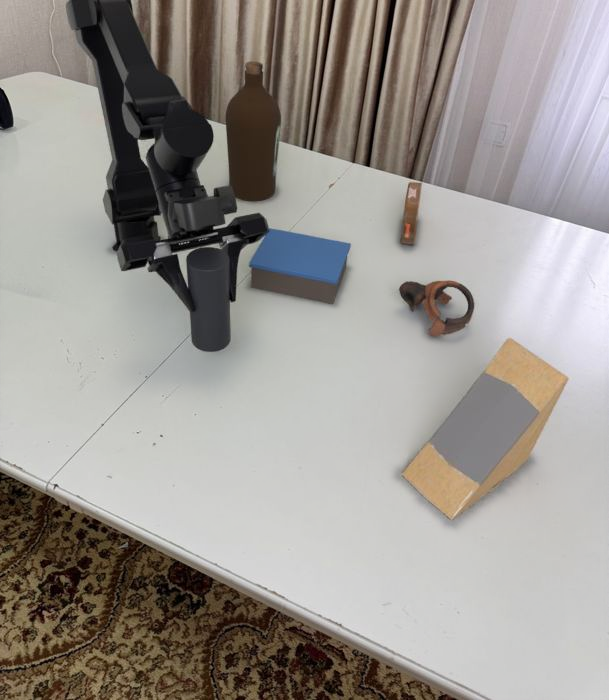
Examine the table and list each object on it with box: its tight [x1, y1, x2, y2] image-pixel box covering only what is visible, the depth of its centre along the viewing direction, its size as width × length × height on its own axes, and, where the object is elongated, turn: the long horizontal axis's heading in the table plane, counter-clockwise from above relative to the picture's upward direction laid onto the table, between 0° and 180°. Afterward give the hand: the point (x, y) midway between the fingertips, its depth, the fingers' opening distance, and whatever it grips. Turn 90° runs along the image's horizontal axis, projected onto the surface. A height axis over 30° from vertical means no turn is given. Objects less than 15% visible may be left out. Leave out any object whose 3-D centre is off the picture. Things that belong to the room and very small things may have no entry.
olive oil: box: [224, 60, 282, 202], centre depth 120 cm, size 11×11×25 cm
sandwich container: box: [401, 337, 569, 521], centre depth 73 cm, size 9×15×15 cm, turn 129°
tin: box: [400, 181, 423, 246], centre depth 118 cm, size 15×3×8 cm, turn 168°
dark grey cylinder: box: [185, 246, 231, 353], centre depth 80 cm, size 5×5×13 cm
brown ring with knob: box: [398, 280, 475, 338], centre depth 98 cm, size 12×10×8 cm
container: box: [248, 227, 352, 305], centre depth 105 cm, size 15×12×5 cm
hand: (213, 306), depth 79 cm, fingers closed on dark grey cylinder, 5 cm apart
